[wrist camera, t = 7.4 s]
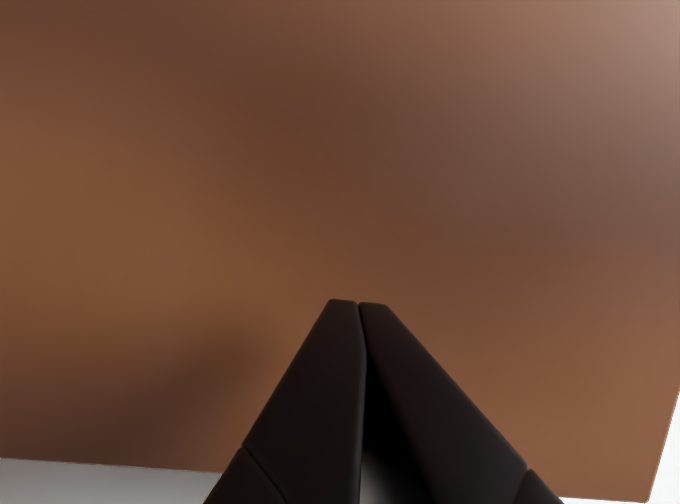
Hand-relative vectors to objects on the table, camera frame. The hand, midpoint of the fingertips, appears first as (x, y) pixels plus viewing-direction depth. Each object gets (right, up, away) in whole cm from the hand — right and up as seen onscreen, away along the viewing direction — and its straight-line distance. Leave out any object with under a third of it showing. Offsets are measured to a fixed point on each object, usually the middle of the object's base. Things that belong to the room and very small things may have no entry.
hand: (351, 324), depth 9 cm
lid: (0, +4, +1) cm, 4 cm away
